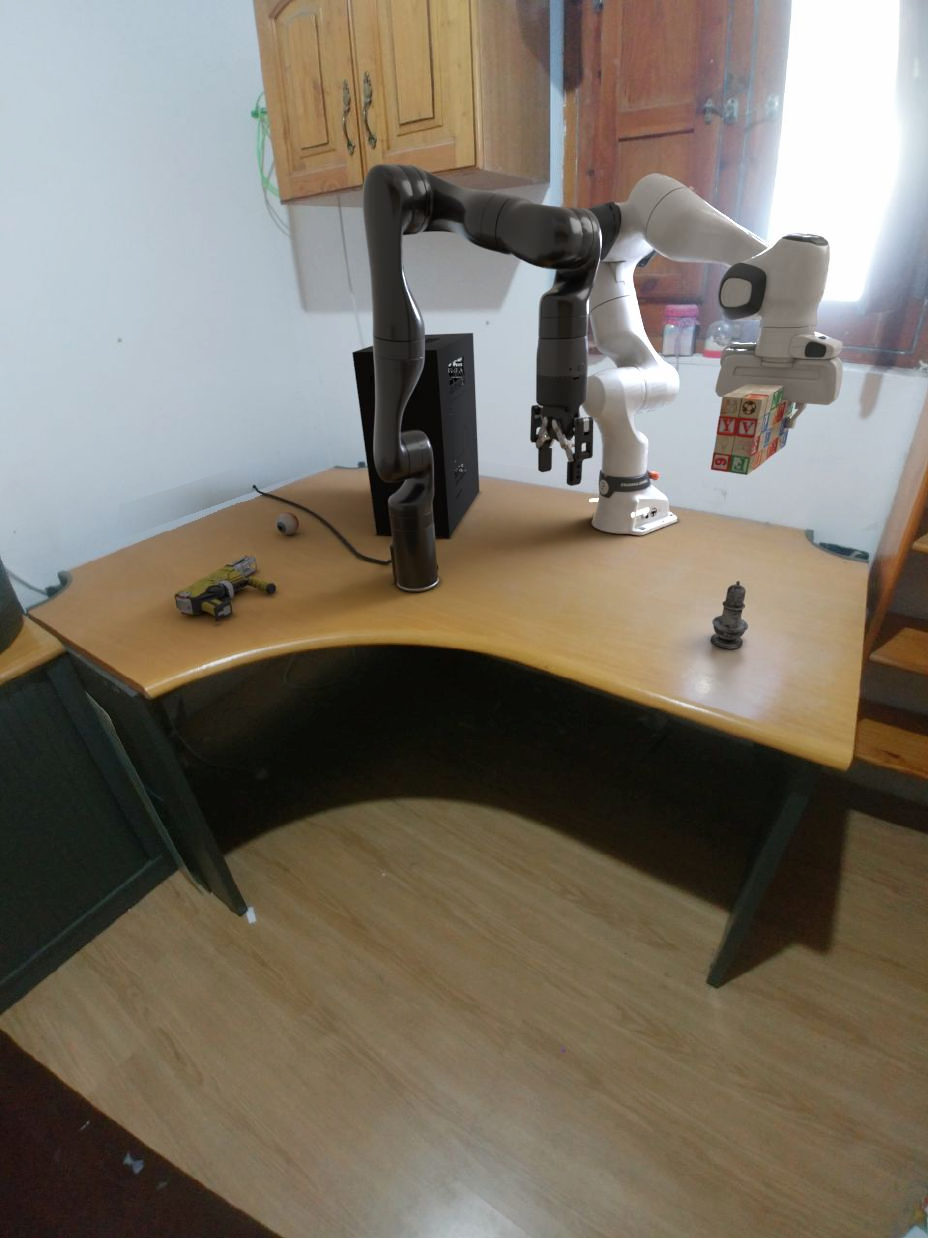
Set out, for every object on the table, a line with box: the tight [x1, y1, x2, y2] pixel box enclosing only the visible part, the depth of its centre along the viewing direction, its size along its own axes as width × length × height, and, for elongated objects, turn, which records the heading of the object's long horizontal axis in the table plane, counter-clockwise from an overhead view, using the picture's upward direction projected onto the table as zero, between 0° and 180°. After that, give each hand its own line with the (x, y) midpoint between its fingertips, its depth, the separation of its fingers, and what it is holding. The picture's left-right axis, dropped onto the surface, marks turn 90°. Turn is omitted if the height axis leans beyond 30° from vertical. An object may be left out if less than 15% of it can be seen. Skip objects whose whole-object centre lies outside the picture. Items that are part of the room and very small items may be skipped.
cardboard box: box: [351, 332, 480, 539], centre depth 164 cm, size 38×20×45 cm, turn 167°
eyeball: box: [275, 511, 300, 536], centre depth 163 cm, size 6×6×6 cm
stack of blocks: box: [710, 384, 795, 476], centre depth 106 cm, size 21×6×12 cm, turn 140°
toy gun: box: [173, 554, 277, 622], centre depth 133 cm, size 5×24×15 cm
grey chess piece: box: [710, 580, 749, 650], centre depth 105 cm, size 6×6×12 cm
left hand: (558, 477), depth 97 cm, fingers open, 8 cm apart
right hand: (767, 425), depth 111 cm, fingers closed on stack of blocks, 6 cm apart
